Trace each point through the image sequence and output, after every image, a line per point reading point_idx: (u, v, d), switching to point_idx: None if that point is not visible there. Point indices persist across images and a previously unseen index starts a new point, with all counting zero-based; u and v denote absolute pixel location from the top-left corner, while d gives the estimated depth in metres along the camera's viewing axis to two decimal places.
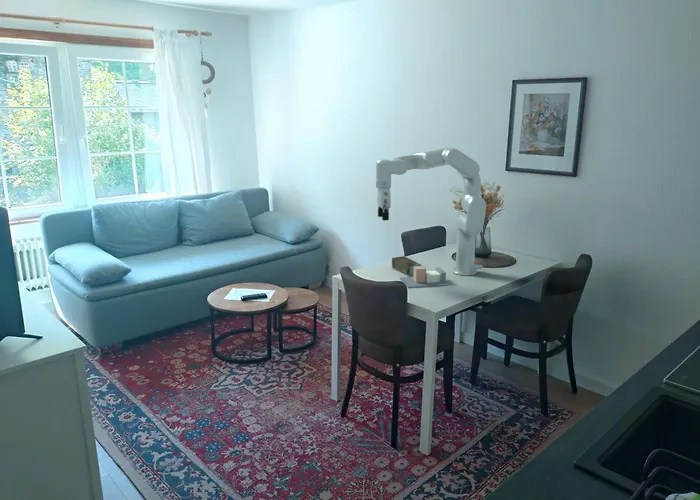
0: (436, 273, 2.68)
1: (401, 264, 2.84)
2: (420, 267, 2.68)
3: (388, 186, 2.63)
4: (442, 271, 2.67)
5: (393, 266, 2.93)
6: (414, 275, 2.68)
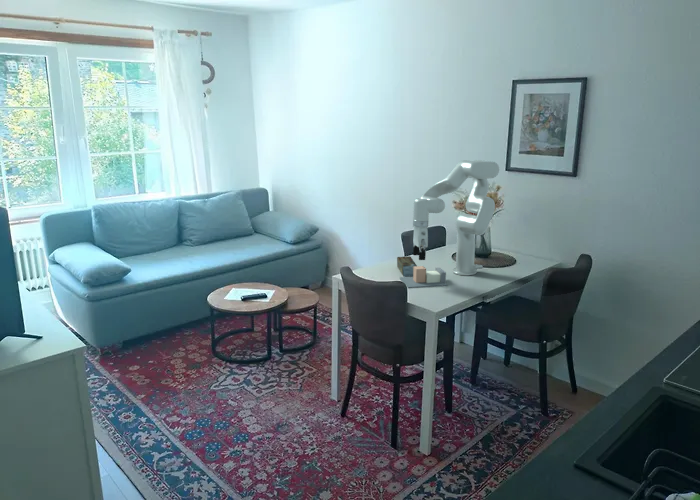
0: (436, 273, 2.68)
1: (400, 263, 2.86)
2: (420, 267, 2.68)
3: (426, 225, 2.59)
4: (442, 271, 2.67)
5: (397, 265, 2.95)
6: (414, 275, 2.68)
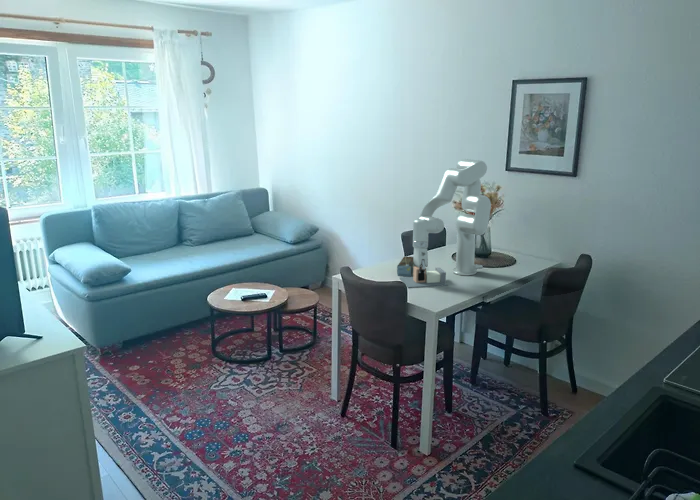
0: (436, 273, 2.68)
1: None
2: None
3: (425, 246, 2.62)
4: (442, 271, 2.67)
5: None
6: (414, 275, 2.68)
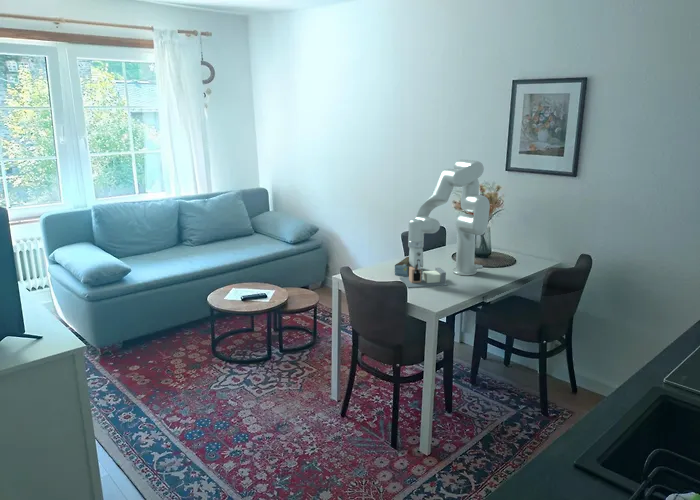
0: (436, 273, 2.68)
1: None
2: None
3: (421, 246, 2.61)
4: (442, 271, 2.67)
5: None
6: (410, 276, 2.68)
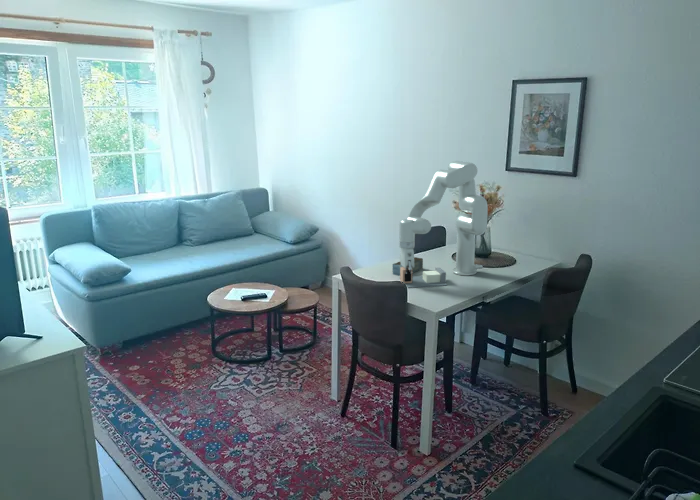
0: (436, 273, 2.68)
1: None
2: None
3: (412, 246, 2.60)
4: (442, 271, 2.67)
5: None
6: (401, 276, 2.67)
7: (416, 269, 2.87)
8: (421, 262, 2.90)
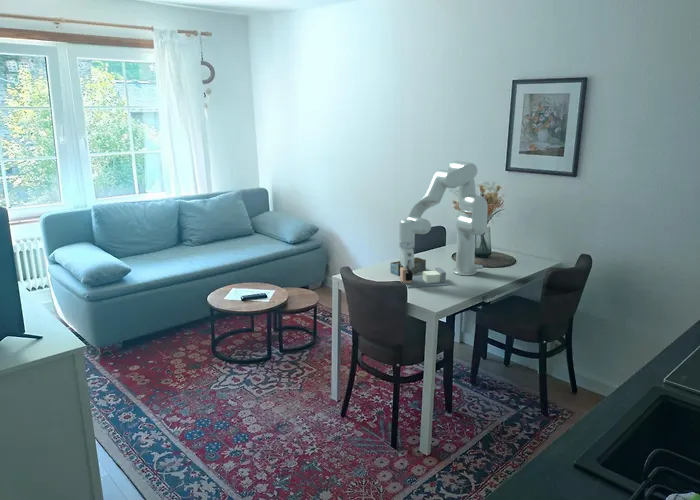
0: (436, 273, 2.68)
1: None
2: None
3: (412, 246, 2.60)
4: (442, 271, 2.67)
5: None
6: (401, 276, 2.67)
7: (416, 270, 2.86)
8: (423, 263, 2.88)
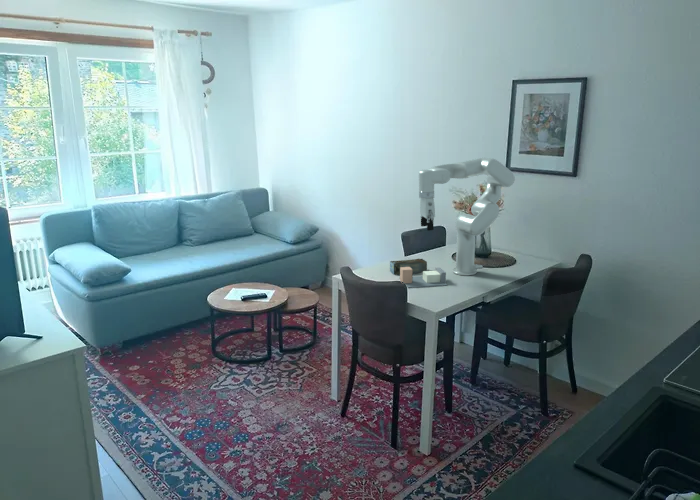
0: (436, 273, 2.68)
1: None
2: (407, 268, 2.67)
3: (432, 196, 2.63)
4: (442, 271, 2.67)
5: None
6: (401, 276, 2.67)
7: (415, 271, 2.84)
8: (424, 265, 2.85)
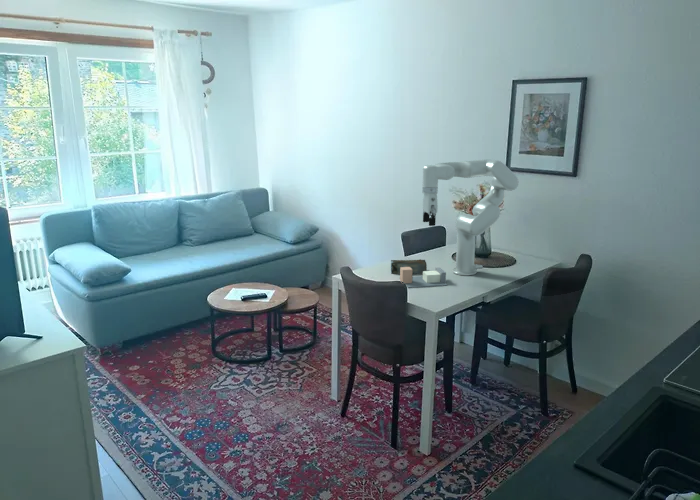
0: (436, 273, 2.68)
1: None
2: (407, 268, 2.67)
3: (435, 192, 2.64)
4: (442, 271, 2.67)
5: None
6: (401, 276, 2.67)
7: (414, 271, 2.83)
8: (423, 266, 2.82)
